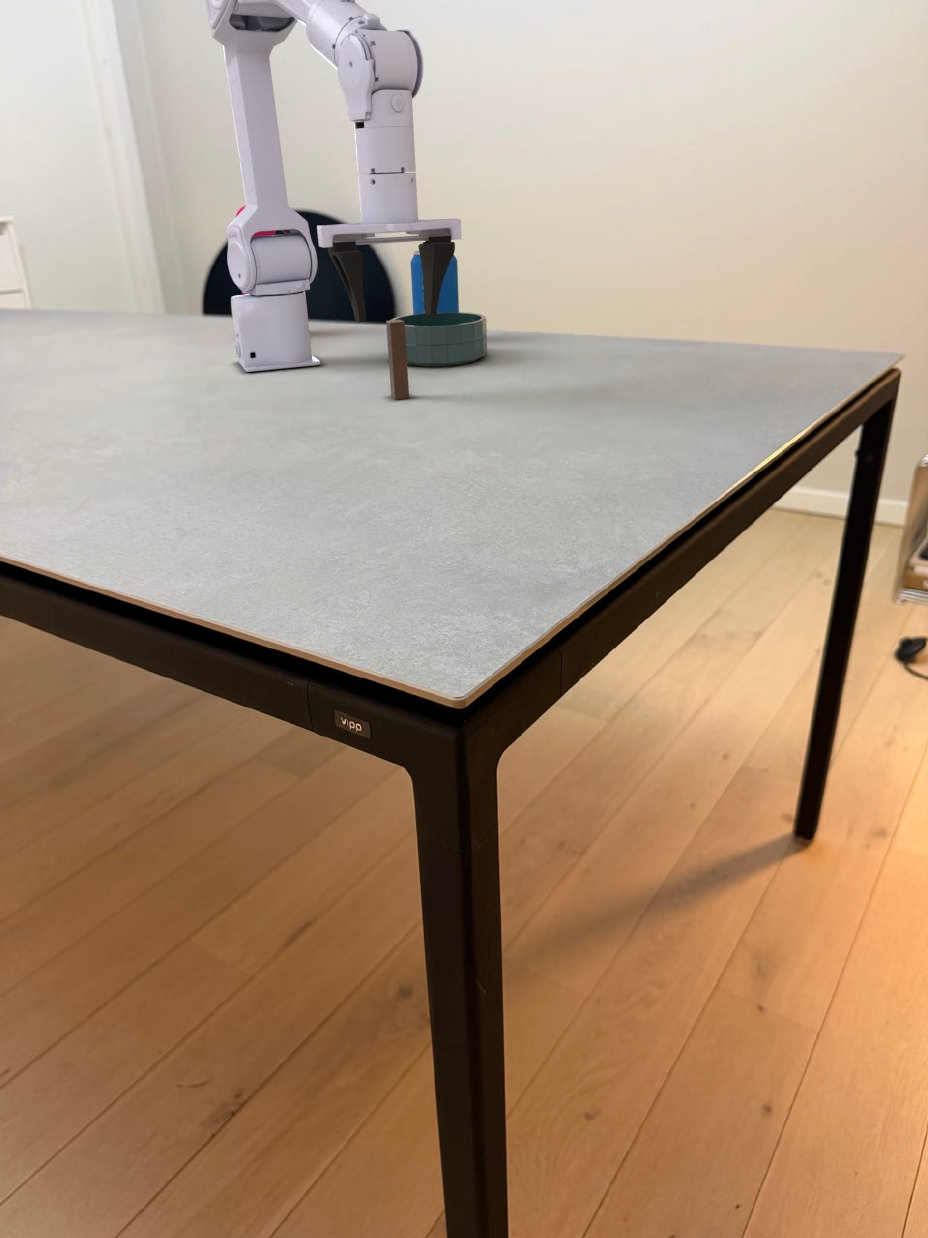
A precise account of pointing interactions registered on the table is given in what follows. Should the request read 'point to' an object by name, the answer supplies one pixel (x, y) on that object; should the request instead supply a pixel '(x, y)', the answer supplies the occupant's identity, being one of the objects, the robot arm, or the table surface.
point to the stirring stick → (397, 359)
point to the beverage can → (448, 290)
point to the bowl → (444, 338)
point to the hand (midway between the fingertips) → (395, 317)
